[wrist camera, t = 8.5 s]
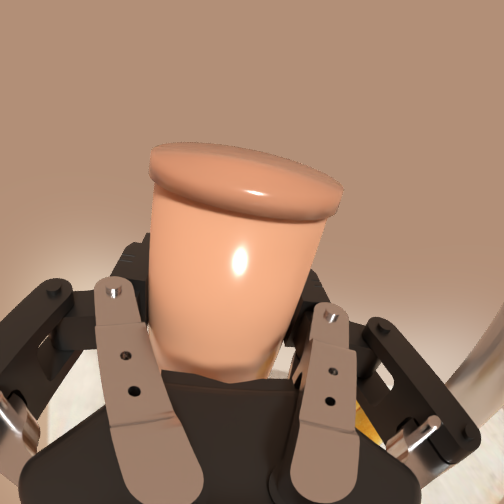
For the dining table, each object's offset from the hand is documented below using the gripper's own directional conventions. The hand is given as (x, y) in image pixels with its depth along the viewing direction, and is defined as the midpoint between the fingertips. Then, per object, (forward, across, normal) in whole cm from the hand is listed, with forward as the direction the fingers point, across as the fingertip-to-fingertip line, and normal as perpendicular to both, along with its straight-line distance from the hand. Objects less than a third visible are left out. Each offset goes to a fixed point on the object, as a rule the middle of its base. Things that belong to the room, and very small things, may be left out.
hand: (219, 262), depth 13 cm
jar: (-3, 0, +6) cm, 7 cm away
